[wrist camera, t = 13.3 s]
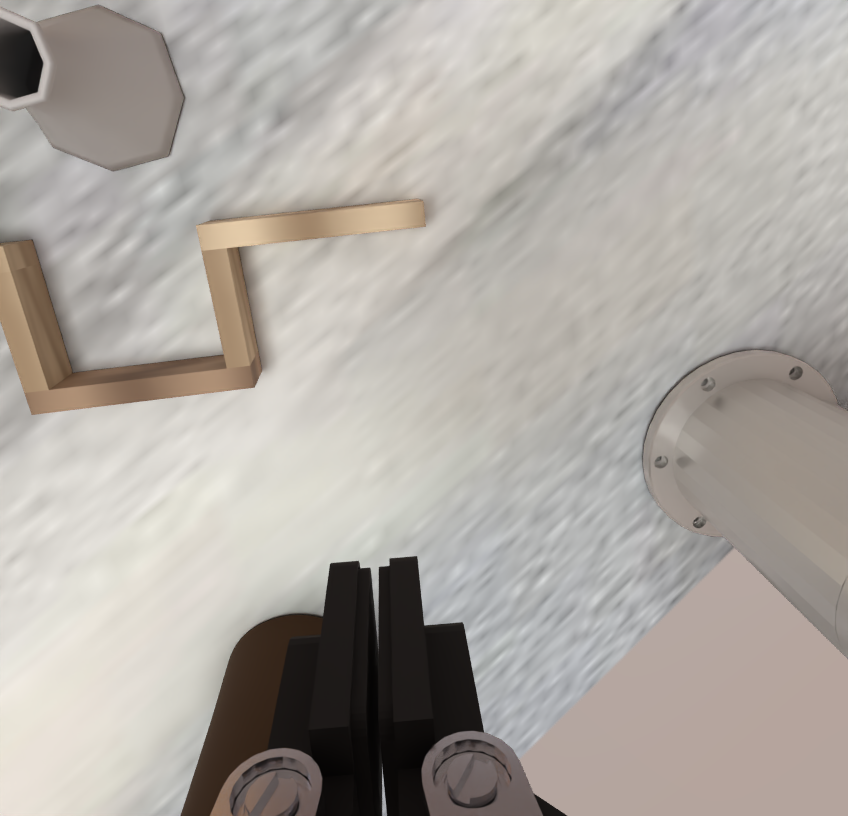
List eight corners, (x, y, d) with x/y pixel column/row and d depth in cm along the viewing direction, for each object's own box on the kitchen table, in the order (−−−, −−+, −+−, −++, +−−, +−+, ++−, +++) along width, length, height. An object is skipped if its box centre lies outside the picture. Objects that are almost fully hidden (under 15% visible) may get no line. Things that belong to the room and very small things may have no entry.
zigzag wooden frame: (375, -247, 28) (377, -293, 25) (432, 350, 37) (438, 364, 34) (-189, -212, 26) (-253, -257, 24) (20, 400, 36) (-9, 419, 33)
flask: (180, 14, 30) (103, -56, 21) (189, 176, 33) (123, 179, 23) (17, -3, 30) (-139, -82, 20) (38, 166, 32) (-92, 164, 23)
